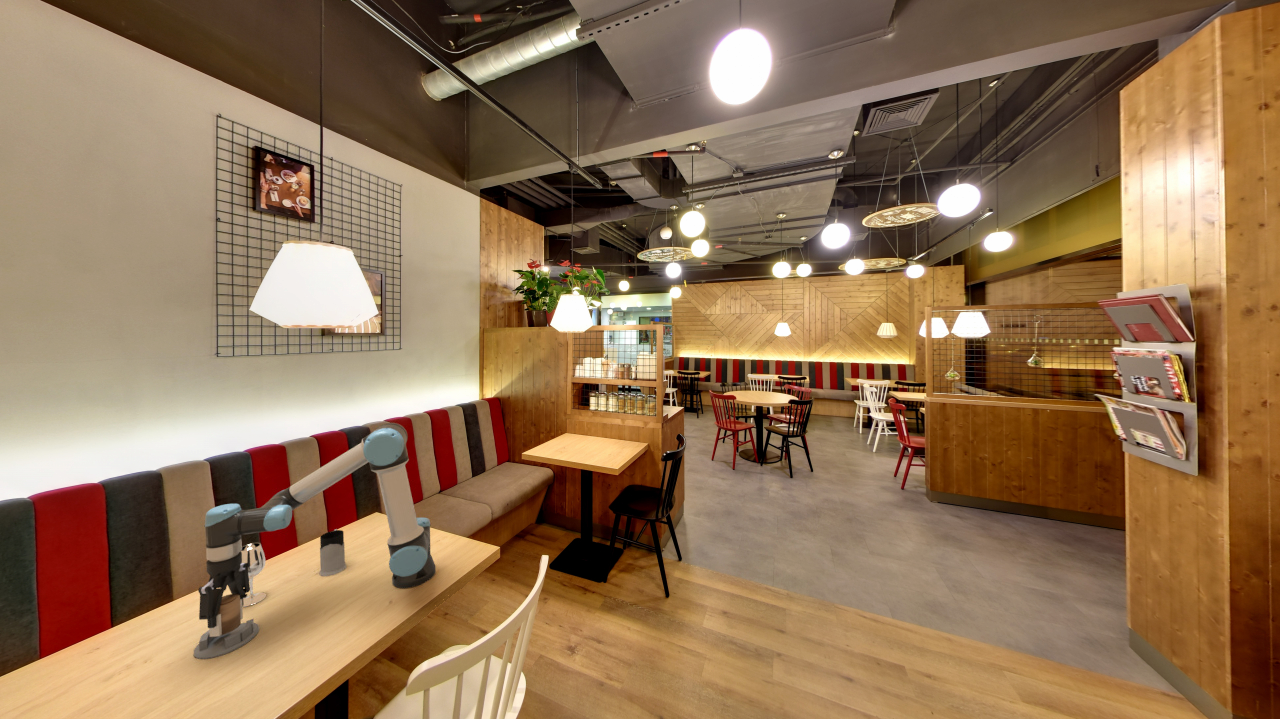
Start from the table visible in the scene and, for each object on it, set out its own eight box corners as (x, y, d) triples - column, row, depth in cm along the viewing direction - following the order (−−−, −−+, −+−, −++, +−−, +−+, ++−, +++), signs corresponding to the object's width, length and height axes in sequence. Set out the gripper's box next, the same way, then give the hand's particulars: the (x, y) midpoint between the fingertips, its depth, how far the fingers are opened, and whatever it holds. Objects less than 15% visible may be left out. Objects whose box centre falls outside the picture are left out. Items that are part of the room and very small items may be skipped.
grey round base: (271, 623, 128) (270, 613, 128) (230, 657, 114) (229, 646, 114) (225, 625, 127) (225, 615, 127) (178, 660, 113) (178, 649, 113)
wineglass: (270, 596, 141) (269, 544, 141) (242, 610, 134) (240, 554, 134) (260, 590, 145) (258, 539, 144) (232, 603, 138) (229, 549, 137)
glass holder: (317, 578, 152) (316, 542, 152) (324, 561, 165) (323, 527, 164) (344, 572, 157) (343, 536, 156) (349, 555, 169) (348, 522, 169)
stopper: (246, 620, 124) (245, 592, 123) (227, 635, 118) (226, 605, 117) (225, 621, 123) (224, 592, 123) (205, 636, 117) (204, 606, 117)
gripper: (240, 540, 129) (242, 607, 130) (177, 574, 110) (179, 652, 110) (264, 539, 129) (266, 605, 130) (205, 573, 110) (208, 650, 111)
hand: (226, 627), depth 120 cm, fingers closed on stopper, 6 cm apart
